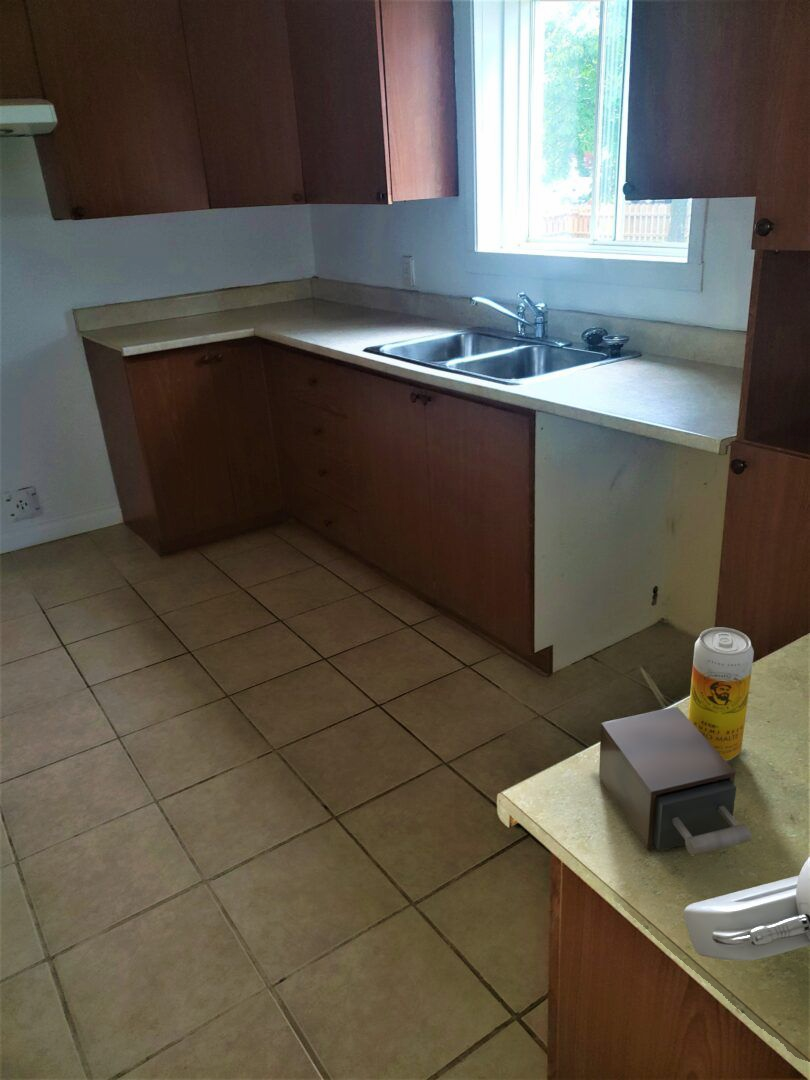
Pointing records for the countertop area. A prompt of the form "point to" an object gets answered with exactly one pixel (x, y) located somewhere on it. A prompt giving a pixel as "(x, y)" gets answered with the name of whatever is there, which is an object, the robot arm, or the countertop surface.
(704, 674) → the beer can
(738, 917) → the robot arm
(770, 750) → the countertop surface
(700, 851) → the drawer
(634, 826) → the cabinet
